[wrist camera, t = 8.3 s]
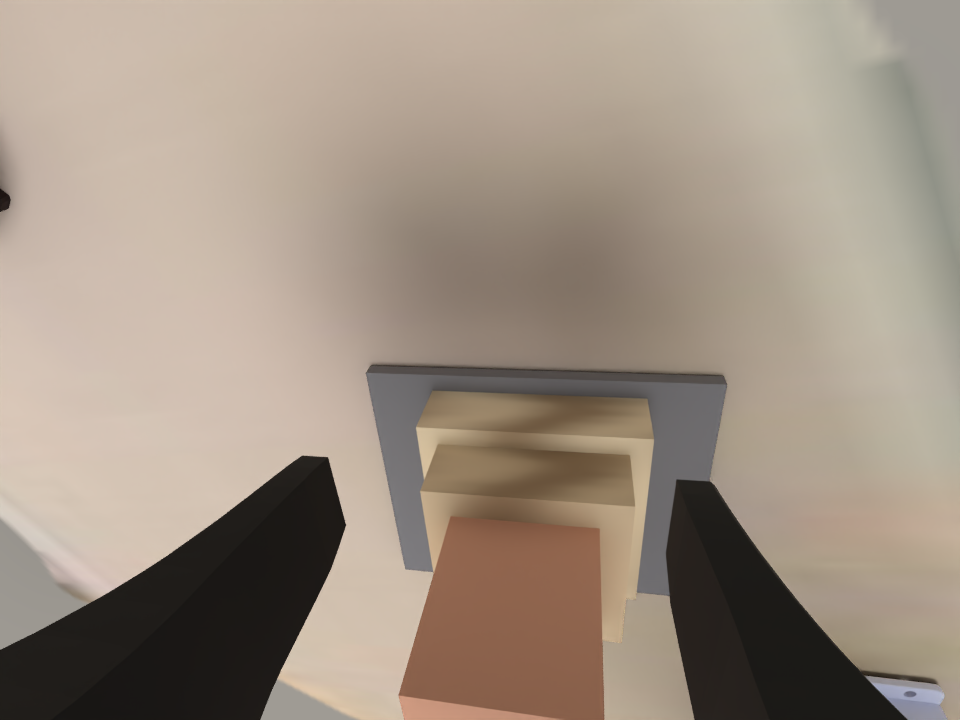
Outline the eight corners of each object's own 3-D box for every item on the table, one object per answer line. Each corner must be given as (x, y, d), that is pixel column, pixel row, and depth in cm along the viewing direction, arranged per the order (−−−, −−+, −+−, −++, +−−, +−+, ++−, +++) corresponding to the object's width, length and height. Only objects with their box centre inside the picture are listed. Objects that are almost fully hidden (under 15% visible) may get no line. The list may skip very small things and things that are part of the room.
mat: (723, 375, 20) (726, 384, 20) (685, 586, 26) (687, 597, 26) (370, 365, 23) (365, 373, 22) (408, 560, 29) (405, 569, 28)
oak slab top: (630, 455, 19) (635, 506, 17) (618, 586, 23) (621, 642, 20) (437, 444, 20) (420, 491, 18) (454, 569, 24) (441, 621, 22)
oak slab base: (647, 398, 21) (654, 439, 19) (631, 552, 25) (635, 600, 23) (432, 390, 22) (416, 427, 20) (451, 536, 26) (439, 579, 24)
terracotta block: (599, 528, 18) (604, 725, 13) (593, 624, 20) (595, 821, 15) (450, 516, 19) (398, 695, 13) (462, 609, 21) (422, 790, 16)
